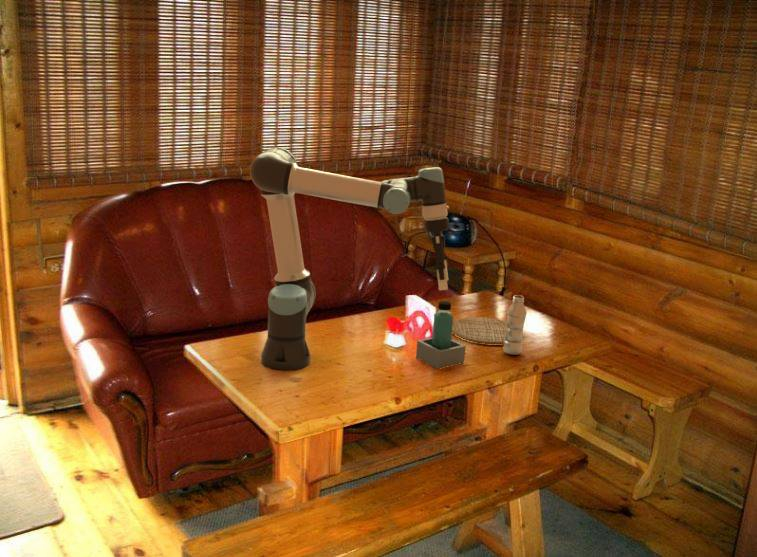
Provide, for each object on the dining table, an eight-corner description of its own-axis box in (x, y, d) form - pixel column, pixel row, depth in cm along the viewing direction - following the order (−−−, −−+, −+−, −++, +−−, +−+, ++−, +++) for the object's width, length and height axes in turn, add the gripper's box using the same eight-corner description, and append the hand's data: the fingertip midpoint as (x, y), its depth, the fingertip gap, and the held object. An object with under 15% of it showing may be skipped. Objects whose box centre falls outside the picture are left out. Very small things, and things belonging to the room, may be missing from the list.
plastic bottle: (499, 354, 273) (505, 297, 267) (506, 348, 279) (512, 292, 273) (517, 358, 270) (524, 301, 264) (524, 352, 276) (531, 296, 270)
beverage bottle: (451, 358, 267) (457, 300, 261) (447, 365, 260) (453, 306, 255) (432, 355, 268) (437, 297, 262) (427, 362, 262) (432, 303, 256)
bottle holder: (416, 357, 265) (417, 340, 263) (441, 351, 272) (443, 334, 270) (438, 369, 257) (439, 351, 255) (463, 363, 263) (465, 345, 262)
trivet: (448, 319, 304) (449, 314, 304) (515, 324, 304) (516, 319, 303) (452, 343, 281) (452, 338, 280) (524, 349, 280) (525, 344, 280)
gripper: (447, 222, 239) (455, 292, 243) (448, 211, 263) (456, 275, 267) (422, 225, 240) (430, 295, 244) (425, 214, 264) (433, 278, 268)
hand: (443, 285), depth 256 cm, fingers open, 13 cm apart
